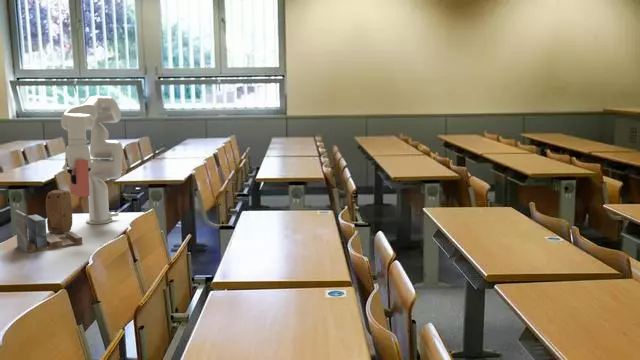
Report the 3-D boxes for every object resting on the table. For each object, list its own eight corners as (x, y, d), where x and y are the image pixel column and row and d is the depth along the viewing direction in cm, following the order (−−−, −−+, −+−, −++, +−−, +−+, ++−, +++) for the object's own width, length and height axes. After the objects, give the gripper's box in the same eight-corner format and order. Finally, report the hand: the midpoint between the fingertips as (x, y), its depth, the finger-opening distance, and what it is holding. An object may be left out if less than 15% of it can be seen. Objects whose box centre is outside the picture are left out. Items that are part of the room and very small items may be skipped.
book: (79, 192, 278) (77, 157, 275) (89, 195, 269) (88, 160, 267) (70, 193, 275) (68, 158, 273) (80, 196, 266) (78, 160, 264)
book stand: (71, 237, 276) (69, 203, 273) (82, 244, 266) (80, 208, 263) (17, 246, 261) (14, 209, 258) (26, 253, 251) (24, 215, 248)
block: (74, 231, 288) (72, 190, 285) (64, 234, 281) (61, 192, 278) (55, 229, 291) (53, 188, 288) (44, 233, 284) (42, 191, 281)
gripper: (92, 141, 277) (94, 180, 280) (55, 143, 266) (57, 184, 268) (99, 142, 272) (100, 182, 274) (61, 144, 260) (63, 186, 263)
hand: (79, 182), depth 271 cm, fingers closed on book, 4 cm apart
